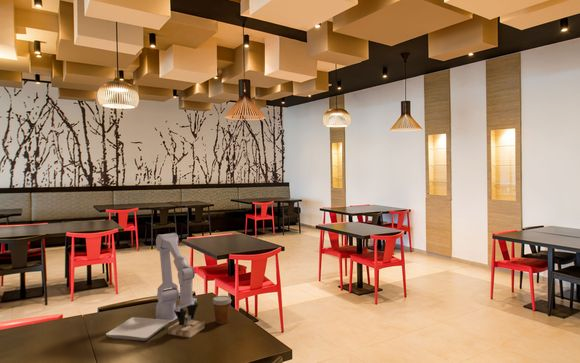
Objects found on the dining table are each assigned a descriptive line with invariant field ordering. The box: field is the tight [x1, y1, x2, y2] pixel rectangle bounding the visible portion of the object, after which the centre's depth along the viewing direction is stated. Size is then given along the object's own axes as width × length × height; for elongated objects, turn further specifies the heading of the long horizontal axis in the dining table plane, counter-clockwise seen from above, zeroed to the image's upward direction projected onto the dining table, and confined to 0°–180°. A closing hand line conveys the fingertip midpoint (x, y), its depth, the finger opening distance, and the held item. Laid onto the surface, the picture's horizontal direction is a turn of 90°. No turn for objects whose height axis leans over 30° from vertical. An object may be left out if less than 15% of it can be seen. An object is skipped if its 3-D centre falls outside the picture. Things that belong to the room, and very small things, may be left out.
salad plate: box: [105, 316, 171, 342], centre depth 184 cm, size 21×21×3 cm
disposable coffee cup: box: [212, 295, 232, 325], centre depth 197 cm, size 10×10×12 cm
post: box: [182, 314, 192, 327], centre depth 186 cm, size 3×3×7 cm
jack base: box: [167, 319, 205, 339], centre depth 186 cm, size 12×12×4 cm
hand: (186, 321), depth 186 cm, fingers open, 7 cm apart
